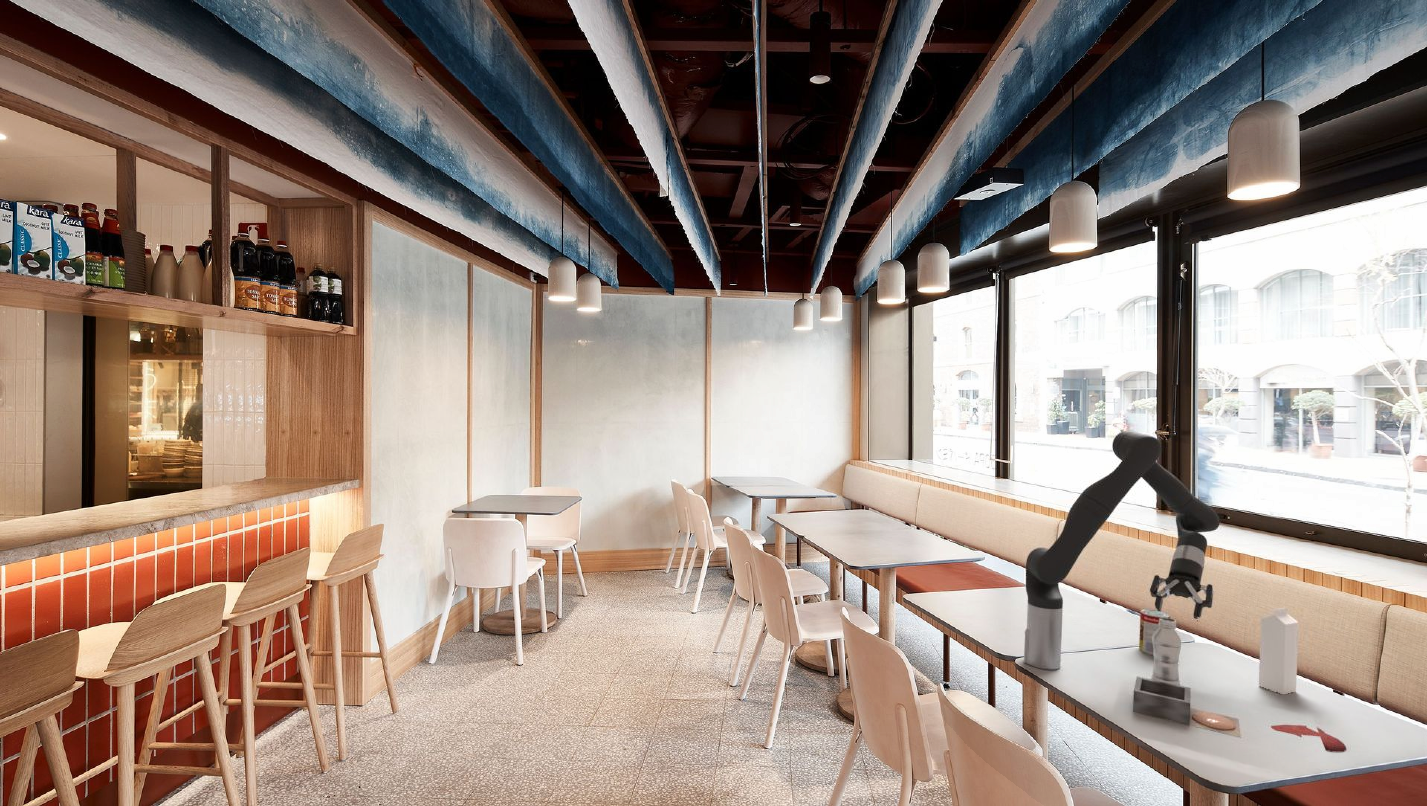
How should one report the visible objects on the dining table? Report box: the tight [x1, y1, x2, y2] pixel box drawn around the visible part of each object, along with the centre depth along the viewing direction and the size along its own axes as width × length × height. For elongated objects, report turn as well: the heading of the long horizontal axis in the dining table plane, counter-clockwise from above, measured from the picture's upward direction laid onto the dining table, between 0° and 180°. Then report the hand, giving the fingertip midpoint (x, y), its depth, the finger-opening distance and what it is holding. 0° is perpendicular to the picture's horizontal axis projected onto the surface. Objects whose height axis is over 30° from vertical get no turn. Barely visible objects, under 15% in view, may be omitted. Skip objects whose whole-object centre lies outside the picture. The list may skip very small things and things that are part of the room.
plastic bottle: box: [1150, 617, 1183, 686], centre depth 184 cm, size 6×7×20 cm
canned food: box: [1138, 608, 1171, 656], centre depth 219 cm, size 8×8×12 cm
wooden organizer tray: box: [1132, 676, 1242, 739], centre depth 170 cm, size 21×12×6 cm, turn 56°
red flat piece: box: [1270, 724, 1347, 752], centre depth 163 cm, size 18×14×2 cm
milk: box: [1258, 607, 1300, 696], centre depth 192 cm, size 6×6×22 cm
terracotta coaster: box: [1192, 712, 1236, 730], centre depth 166 cm, size 8×8×1 cm
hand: (1176, 613), depth 192 cm, fingers open, 8 cm apart
